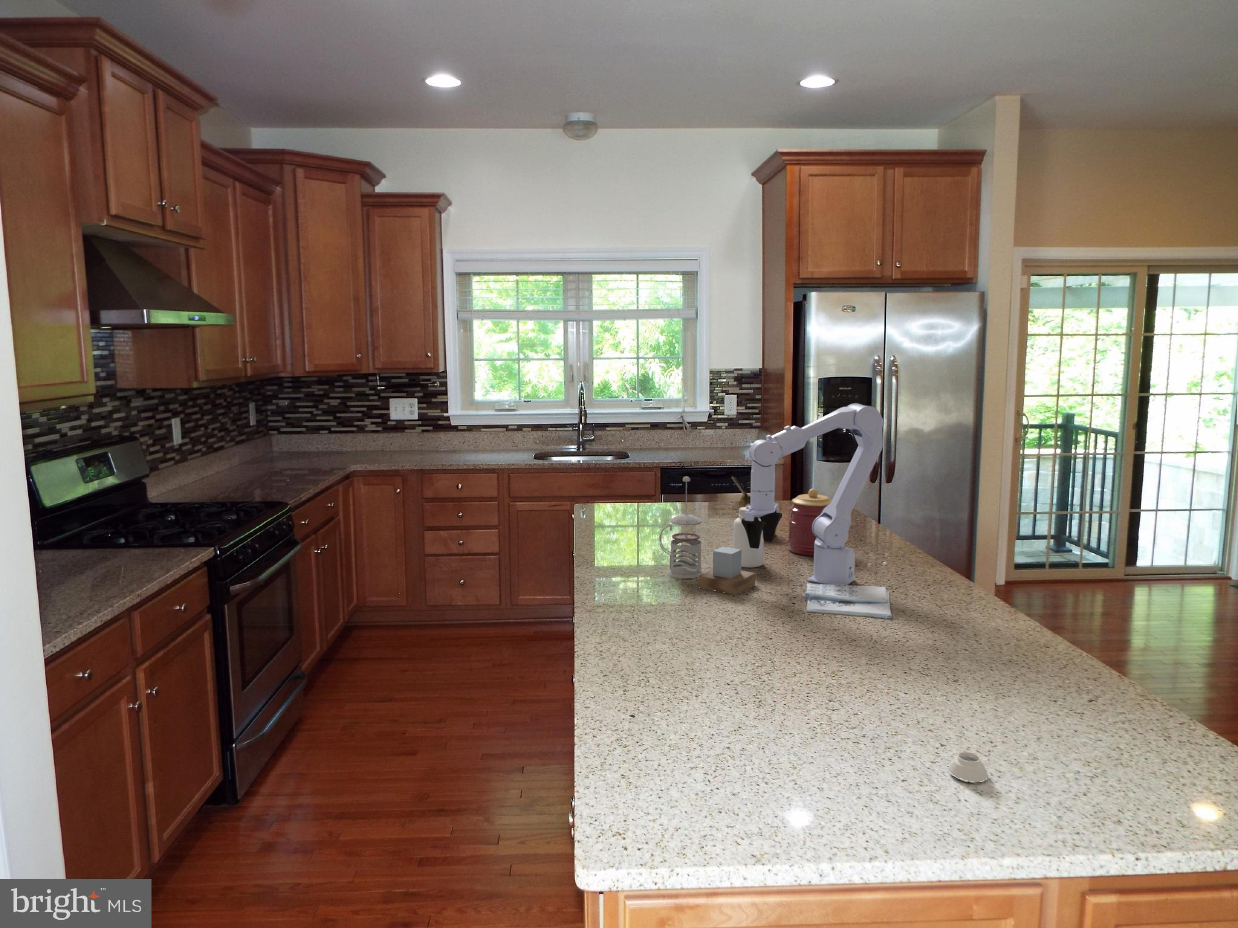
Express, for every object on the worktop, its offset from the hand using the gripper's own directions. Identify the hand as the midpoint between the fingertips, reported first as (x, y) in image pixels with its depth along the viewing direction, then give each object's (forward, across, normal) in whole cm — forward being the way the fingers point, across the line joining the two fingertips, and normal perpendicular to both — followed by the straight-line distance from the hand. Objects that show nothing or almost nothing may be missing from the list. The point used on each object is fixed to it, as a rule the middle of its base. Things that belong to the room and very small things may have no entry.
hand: (761, 544), depth 209 cm
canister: (+10, -36, -2) cm, 37 cm away
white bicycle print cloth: (+10, +3, +23) cm, 25 cm away
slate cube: (+6, +8, -5) cm, 11 cm away
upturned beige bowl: (+10, +68, +65) cm, 94 cm away
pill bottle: (+10, -13, -10) cm, 19 cm away
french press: (+10, +4, -20) cm, 23 cm away
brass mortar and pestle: (+10, -44, -24) cm, 51 cm away
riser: (+9, +8, -5) cm, 13 cm away
